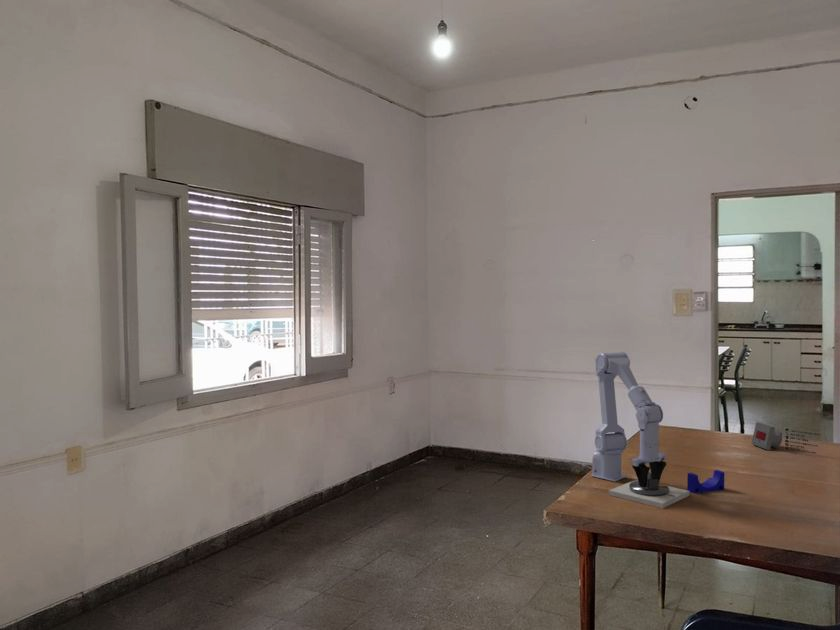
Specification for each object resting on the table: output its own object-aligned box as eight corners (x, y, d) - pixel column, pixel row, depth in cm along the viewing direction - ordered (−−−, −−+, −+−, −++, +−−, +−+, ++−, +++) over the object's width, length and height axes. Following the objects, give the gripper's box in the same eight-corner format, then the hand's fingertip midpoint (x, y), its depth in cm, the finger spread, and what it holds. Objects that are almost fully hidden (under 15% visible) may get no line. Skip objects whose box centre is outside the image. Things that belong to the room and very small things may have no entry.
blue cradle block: (714, 486, 216) (714, 468, 216) (724, 490, 211) (724, 472, 211) (684, 489, 212) (684, 471, 212) (693, 494, 208) (693, 475, 208)
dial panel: (608, 494, 207) (608, 489, 207) (637, 483, 219) (637, 478, 219) (662, 508, 194) (662, 502, 193) (689, 495, 206) (689, 490, 206)
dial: (636, 495, 200) (636, 481, 200) (624, 484, 212) (624, 470, 212) (675, 495, 200) (675, 480, 200) (660, 484, 212) (660, 470, 212)
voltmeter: (746, 447, 270) (746, 424, 269) (757, 443, 277) (757, 420, 277) (817, 459, 250) (817, 434, 249) (827, 454, 257) (827, 430, 257)
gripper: (644, 448, 198) (644, 492, 199) (674, 442, 206) (674, 484, 207) (626, 443, 204) (626, 486, 205) (655, 438, 212) (655, 479, 213)
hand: (649, 485), depth 206 cm, fingers open, 6 cm apart
